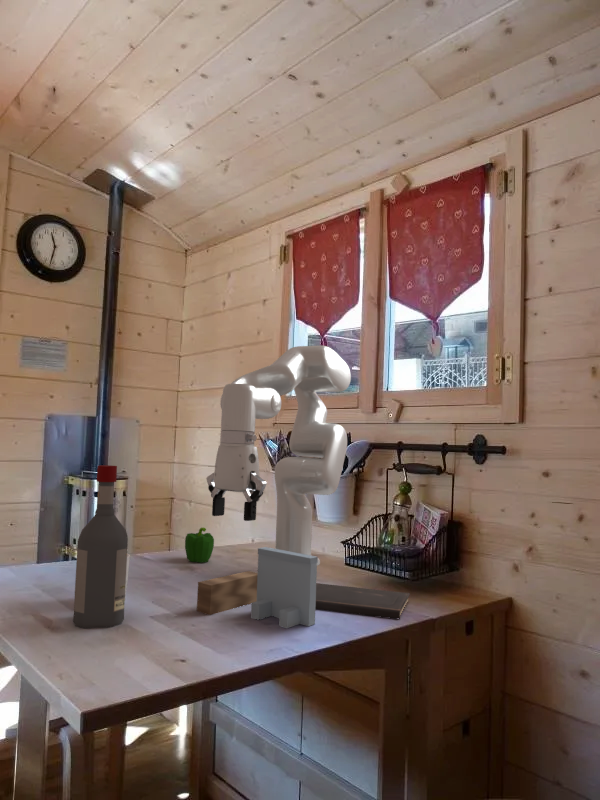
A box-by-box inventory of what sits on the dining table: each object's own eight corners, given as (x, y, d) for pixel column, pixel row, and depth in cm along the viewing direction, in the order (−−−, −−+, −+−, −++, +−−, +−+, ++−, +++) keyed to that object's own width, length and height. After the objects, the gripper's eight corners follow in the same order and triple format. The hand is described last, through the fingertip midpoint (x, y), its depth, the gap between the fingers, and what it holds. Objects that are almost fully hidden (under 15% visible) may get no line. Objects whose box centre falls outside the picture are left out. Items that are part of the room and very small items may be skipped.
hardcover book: (314, 592, 149) (314, 582, 149) (409, 603, 142) (409, 593, 142) (294, 609, 134) (294, 598, 134) (399, 622, 127) (399, 610, 127)
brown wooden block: (249, 597, 140) (250, 570, 140) (262, 600, 138) (263, 573, 138) (196, 611, 127) (198, 582, 128) (209, 615, 125) (211, 585, 125)
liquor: (72, 629, 113) (81, 466, 115) (75, 615, 122) (84, 464, 123) (123, 627, 115) (131, 467, 117) (123, 613, 124) (131, 465, 126)
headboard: (263, 609, 130) (265, 546, 131) (315, 623, 122) (317, 556, 122) (242, 615, 125) (245, 550, 126) (296, 630, 117) (298, 560, 118)
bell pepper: (182, 559, 180) (184, 524, 180) (210, 558, 182) (211, 524, 183) (185, 565, 172) (187, 529, 172) (215, 564, 174) (216, 528, 175)
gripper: (278, 441, 132) (274, 521, 131) (222, 439, 143) (218, 513, 142) (254, 440, 127) (250, 523, 125) (198, 438, 137) (193, 515, 136)
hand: (233, 517), depth 134 cm, fingers open, 9 cm apart
